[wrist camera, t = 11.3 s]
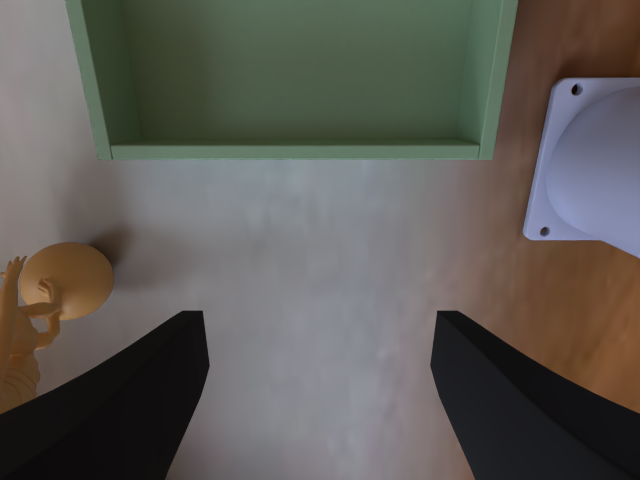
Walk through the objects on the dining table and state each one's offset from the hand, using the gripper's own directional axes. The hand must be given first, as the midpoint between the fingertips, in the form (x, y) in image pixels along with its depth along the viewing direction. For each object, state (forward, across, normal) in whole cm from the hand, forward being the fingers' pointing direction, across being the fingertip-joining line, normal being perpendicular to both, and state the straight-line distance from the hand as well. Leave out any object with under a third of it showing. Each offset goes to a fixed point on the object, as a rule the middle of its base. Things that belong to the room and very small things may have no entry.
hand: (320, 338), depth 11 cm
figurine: (+10, +12, +2) cm, 15 cm away
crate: (+9, +1, -11) cm, 14 cm away
